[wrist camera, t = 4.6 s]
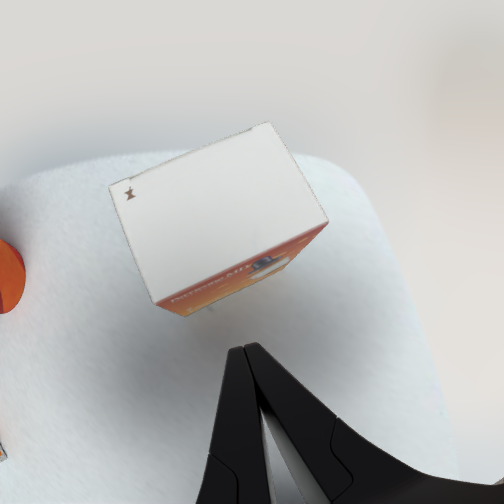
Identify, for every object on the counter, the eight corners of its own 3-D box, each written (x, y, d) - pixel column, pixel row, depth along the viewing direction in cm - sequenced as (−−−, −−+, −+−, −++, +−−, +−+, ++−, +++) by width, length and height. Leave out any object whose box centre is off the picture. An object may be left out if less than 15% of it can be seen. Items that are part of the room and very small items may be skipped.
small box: (183, 318, 21) (148, 310, 11) (152, 246, 22) (102, 185, 12) (286, 269, 23) (335, 222, 13) (251, 202, 24) (271, 116, 14)
